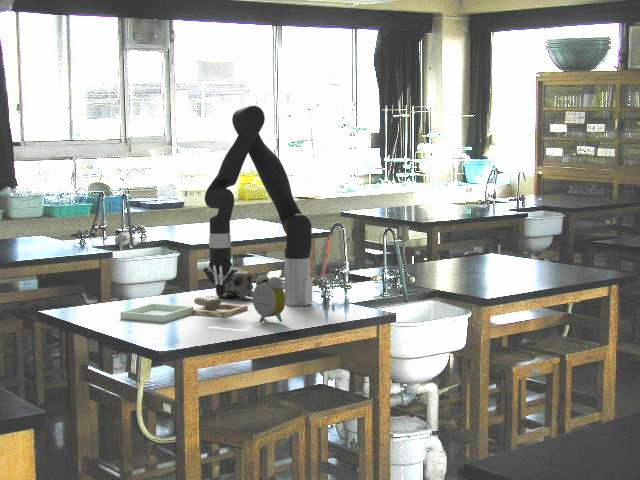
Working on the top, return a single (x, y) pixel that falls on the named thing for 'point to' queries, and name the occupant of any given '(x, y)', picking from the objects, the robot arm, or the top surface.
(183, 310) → the tray
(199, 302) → the cuneiform tablet
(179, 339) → the top surface
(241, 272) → the skull
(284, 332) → the top surface
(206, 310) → the frame
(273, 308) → the alarm clock
